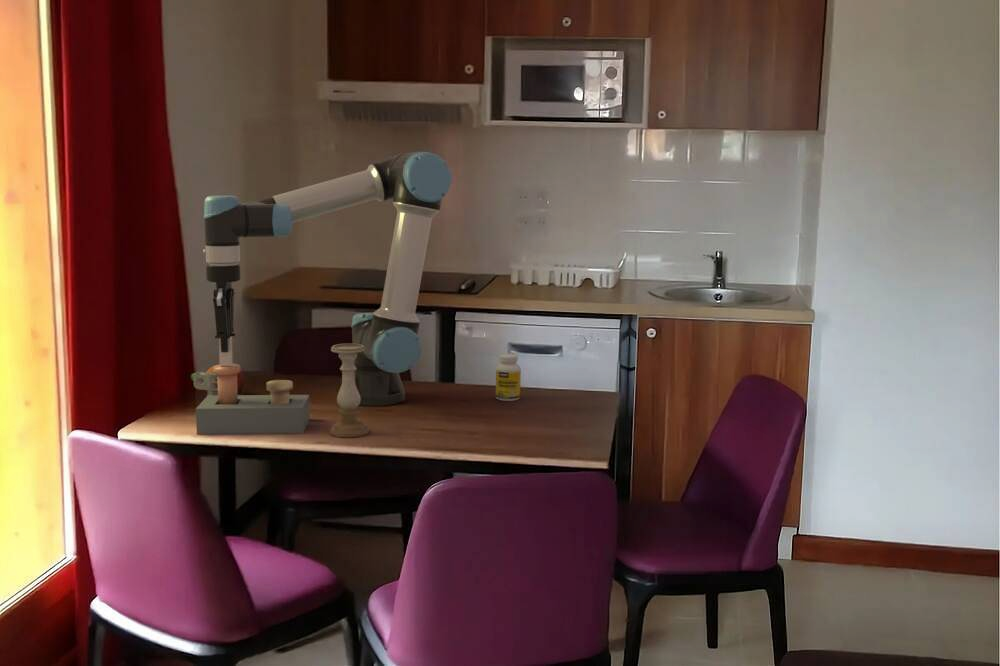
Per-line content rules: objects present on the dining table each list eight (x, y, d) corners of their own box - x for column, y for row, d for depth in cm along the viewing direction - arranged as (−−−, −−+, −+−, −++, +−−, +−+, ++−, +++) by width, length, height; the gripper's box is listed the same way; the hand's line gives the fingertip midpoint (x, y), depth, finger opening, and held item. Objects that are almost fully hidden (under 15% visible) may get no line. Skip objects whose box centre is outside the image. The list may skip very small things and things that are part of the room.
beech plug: (295, 418, 243) (294, 379, 241) (291, 425, 237) (290, 385, 236) (269, 418, 243) (268, 379, 241) (265, 425, 237) (264, 385, 235)
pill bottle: (491, 400, 268) (492, 356, 266) (501, 395, 274) (501, 352, 272) (514, 402, 265) (515, 358, 263) (523, 397, 271) (524, 354, 269)
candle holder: (371, 436, 232) (370, 349, 229) (332, 439, 230) (331, 350, 226) (365, 426, 240) (364, 342, 237) (327, 429, 238) (326, 343, 234)
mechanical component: (229, 416, 249) (228, 376, 247) (191, 413, 251) (189, 373, 249) (235, 413, 252) (233, 373, 250) (197, 410, 254) (195, 371, 252)
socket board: (309, 418, 247) (309, 394, 246) (303, 433, 234) (302, 407, 233) (208, 419, 245) (207, 395, 244) (196, 434, 232) (195, 408, 231)
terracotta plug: (243, 402, 242) (242, 363, 240) (238, 408, 236) (237, 368, 234) (217, 403, 241) (216, 363, 239) (212, 409, 235) (210, 368, 234)
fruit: (250, 399, 266) (249, 362, 264) (213, 404, 260) (211, 366, 258) (236, 391, 274) (235, 355, 273) (199, 396, 269) (198, 359, 267)
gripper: (212, 260, 239) (215, 359, 243) (200, 266, 226) (203, 370, 230) (244, 261, 239) (247, 359, 243) (234, 266, 227) (237, 370, 231)
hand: (226, 365), depth 237 cm, fingers closed
